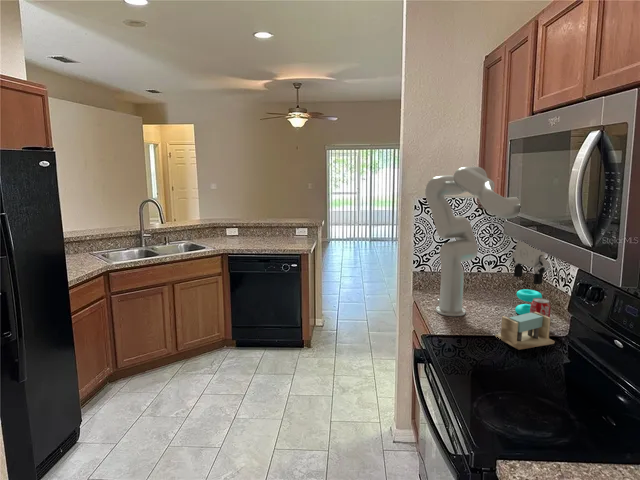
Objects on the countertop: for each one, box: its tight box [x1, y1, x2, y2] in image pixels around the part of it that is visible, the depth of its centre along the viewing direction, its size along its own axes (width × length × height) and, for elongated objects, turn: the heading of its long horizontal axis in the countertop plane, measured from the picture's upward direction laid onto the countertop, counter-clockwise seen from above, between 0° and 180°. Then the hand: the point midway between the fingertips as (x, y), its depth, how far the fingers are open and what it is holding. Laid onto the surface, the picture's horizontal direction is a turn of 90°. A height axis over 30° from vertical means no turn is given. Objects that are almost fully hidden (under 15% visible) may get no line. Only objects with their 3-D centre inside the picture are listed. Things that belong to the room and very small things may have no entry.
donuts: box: [514, 288, 543, 315], centre depth 189 cm, size 10×10×10 cm
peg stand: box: [495, 312, 556, 350], centre depth 162 cm, size 12×16×9 cm
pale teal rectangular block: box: [508, 313, 543, 333], centre depth 162 cm, size 12×5×4 cm, turn 116°
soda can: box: [530, 297, 551, 318], centre depth 172 cm, size 7×7×12 cm
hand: (527, 280), depth 160 cm, fingers open, 9 cm apart
